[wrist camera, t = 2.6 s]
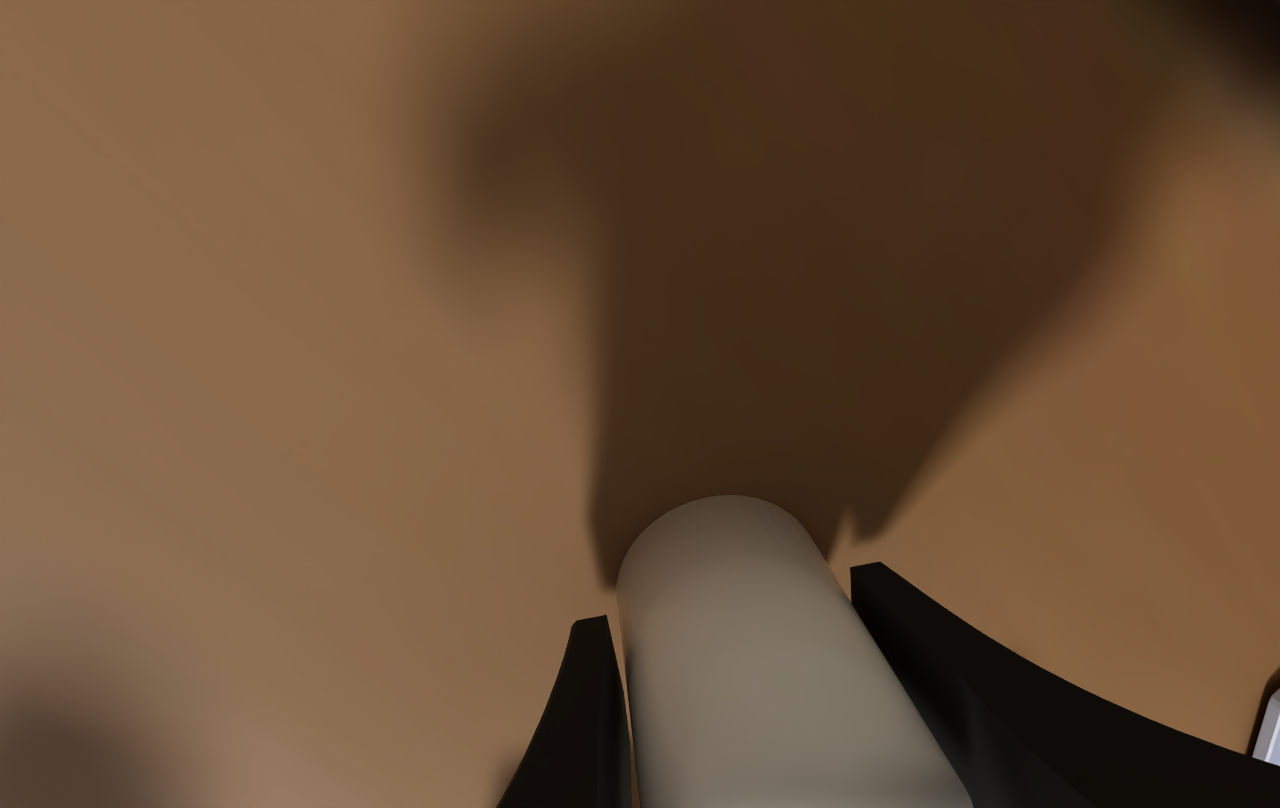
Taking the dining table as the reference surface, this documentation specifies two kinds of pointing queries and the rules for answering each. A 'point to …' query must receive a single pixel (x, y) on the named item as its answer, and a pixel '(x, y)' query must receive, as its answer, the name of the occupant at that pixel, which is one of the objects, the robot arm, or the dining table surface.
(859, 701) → the white capsule cylinder
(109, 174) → the dining table surface
